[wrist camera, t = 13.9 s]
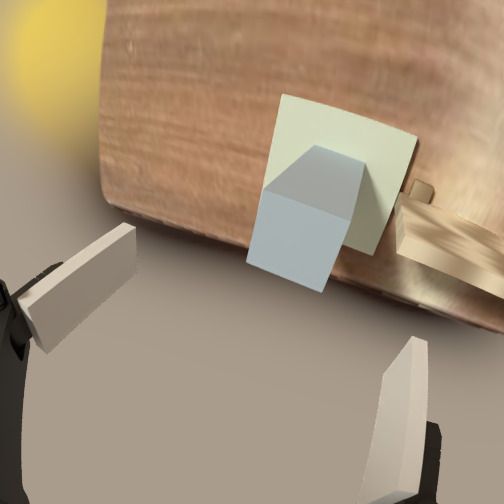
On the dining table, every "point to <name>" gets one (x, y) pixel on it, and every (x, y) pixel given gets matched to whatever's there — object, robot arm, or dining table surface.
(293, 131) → the mat
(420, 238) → the birch screen
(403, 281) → the dining table surface
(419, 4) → the dining table surface
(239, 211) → the dining table surface
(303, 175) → the block
